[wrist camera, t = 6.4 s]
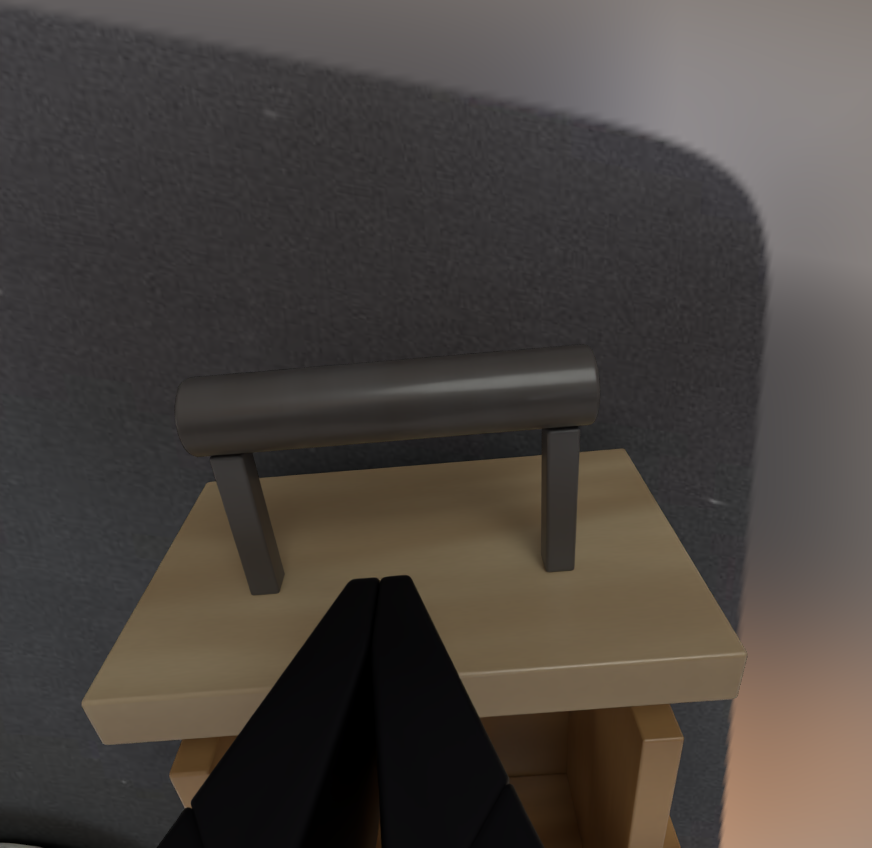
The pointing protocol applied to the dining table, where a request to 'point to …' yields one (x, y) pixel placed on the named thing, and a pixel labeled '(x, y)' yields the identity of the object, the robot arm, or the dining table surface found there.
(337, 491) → the drawer
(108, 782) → the dining table surface
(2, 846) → the teapot
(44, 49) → the dining table surface
